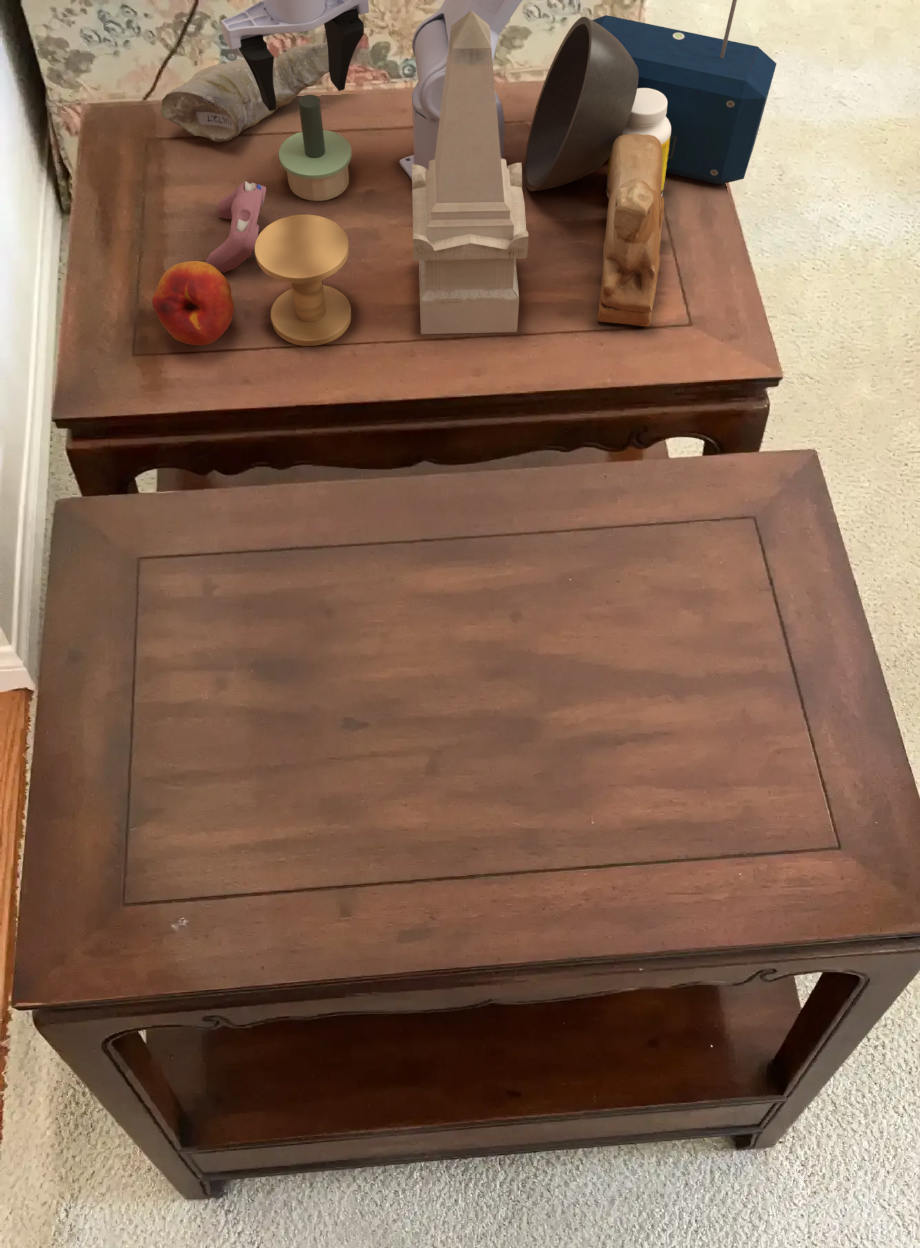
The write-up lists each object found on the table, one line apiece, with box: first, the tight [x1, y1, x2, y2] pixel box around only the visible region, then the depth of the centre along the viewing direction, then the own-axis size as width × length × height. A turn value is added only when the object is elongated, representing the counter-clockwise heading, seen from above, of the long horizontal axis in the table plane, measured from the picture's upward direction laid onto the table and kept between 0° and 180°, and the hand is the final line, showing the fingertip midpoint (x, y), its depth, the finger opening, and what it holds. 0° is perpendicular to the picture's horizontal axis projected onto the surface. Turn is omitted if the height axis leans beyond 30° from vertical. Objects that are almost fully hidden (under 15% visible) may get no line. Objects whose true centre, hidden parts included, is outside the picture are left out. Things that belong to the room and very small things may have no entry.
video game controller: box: [205, 180, 267, 273], centre depth 118 cm, size 10×5×7 cm, turn 179°
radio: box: [591, 0, 777, 186], centre depth 121 cm, size 21×9×20 cm, turn 72°
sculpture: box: [597, 134, 665, 327], centre depth 112 cm, size 6×17×15 cm, turn 172°
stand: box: [254, 214, 352, 347], centre depth 111 cm, size 9×9×9 cm
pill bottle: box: [605, 88, 671, 199], centre depth 121 cm, size 6×6×11 cm
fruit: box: [151, 260, 235, 346], centre depth 111 cm, size 8×8×8 cm
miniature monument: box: [411, 10, 530, 335], centre depth 104 cm, size 10×10×30 cm
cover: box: [278, 94, 353, 179], centre depth 121 cm, size 8×8×6 cm
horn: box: [160, 42, 329, 143], centre depth 128 cm, size 19×12×10 cm
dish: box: [286, 165, 350, 202], centre depth 125 cm, size 7×7×3 cm
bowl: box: [524, 16, 639, 192], centre depth 117 cm, size 12×22×6 cm
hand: (303, 94), depth 117 cm, fingers open, 7 cm apart
